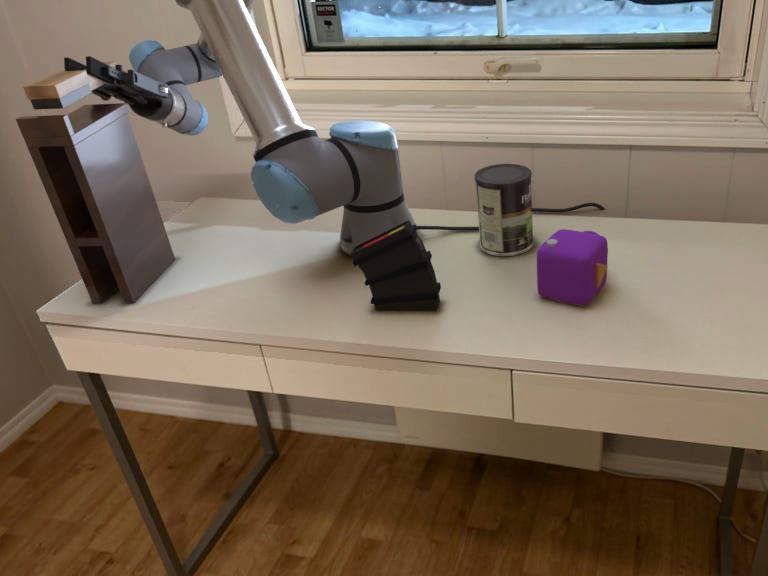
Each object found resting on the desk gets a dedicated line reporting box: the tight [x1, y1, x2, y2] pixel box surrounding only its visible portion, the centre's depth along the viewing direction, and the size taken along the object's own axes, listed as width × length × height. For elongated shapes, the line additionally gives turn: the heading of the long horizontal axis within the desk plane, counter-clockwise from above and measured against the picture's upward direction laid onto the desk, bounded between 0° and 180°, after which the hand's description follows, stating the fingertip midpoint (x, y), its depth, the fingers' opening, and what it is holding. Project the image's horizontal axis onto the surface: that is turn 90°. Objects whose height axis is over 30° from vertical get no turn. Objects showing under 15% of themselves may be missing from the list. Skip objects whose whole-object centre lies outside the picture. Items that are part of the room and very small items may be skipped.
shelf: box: [15, 102, 176, 304], centre depth 132 cm, size 8×18×33 cm, turn 174°
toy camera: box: [536, 228, 609, 306], centre depth 124 cm, size 11×14×10 cm
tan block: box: [22, 61, 118, 111], centre depth 125 cm, size 5×20×4 cm, turn 174°
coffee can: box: [473, 163, 535, 257], centre depth 139 cm, size 10×10×14 cm
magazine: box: [349, 220, 442, 312], centre depth 123 cm, size 4×13×15 cm, turn 83°
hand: (77, 65), depth 125 cm, fingers closed on tan block, 3 cm apart
